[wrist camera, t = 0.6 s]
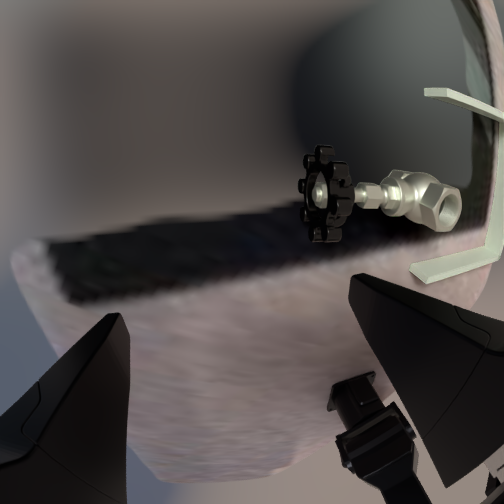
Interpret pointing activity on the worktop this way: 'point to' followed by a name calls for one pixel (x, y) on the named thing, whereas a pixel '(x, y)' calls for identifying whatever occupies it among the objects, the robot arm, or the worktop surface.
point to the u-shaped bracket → (500, 224)
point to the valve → (371, 197)
